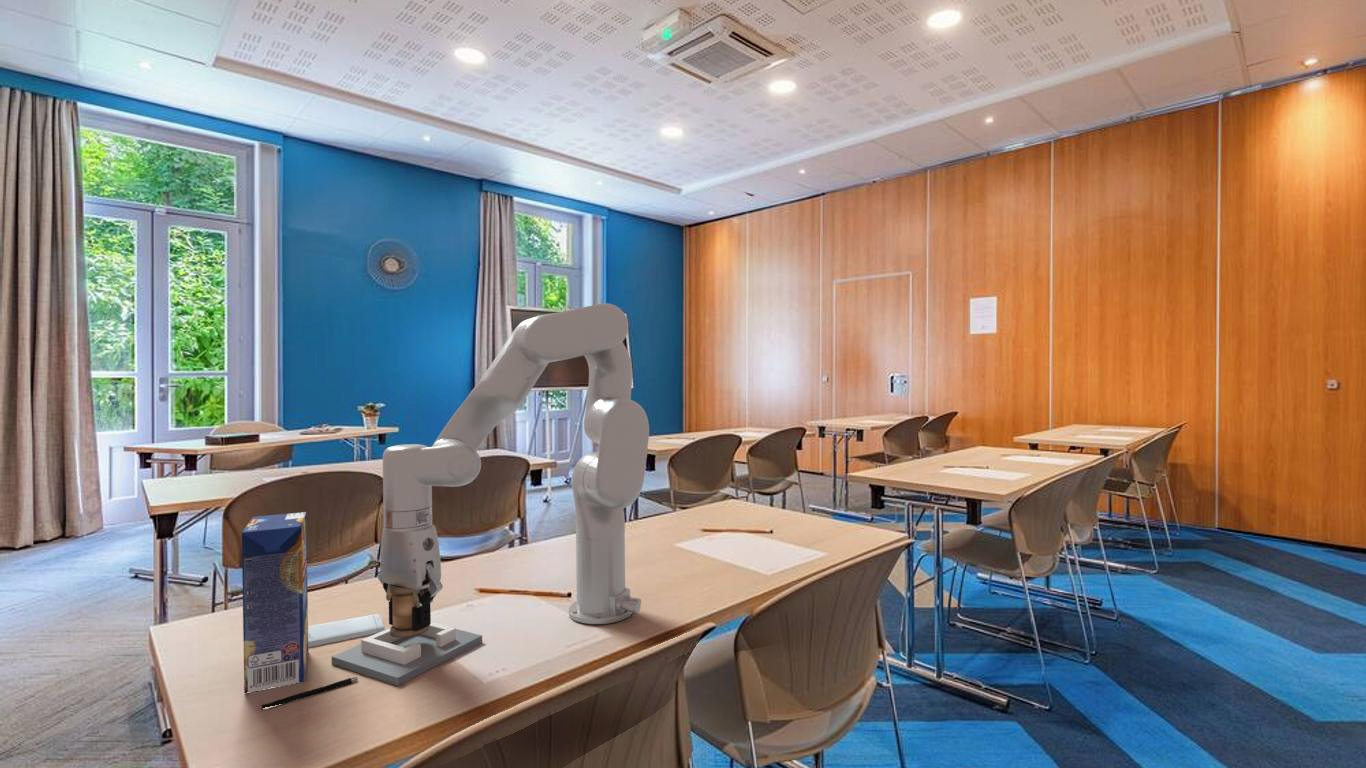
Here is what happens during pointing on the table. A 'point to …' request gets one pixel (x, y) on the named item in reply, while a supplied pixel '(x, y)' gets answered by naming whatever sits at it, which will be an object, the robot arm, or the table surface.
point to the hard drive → (344, 629)
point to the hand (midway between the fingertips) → (409, 623)
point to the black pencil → (311, 692)
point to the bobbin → (403, 612)
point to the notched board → (405, 653)
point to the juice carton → (275, 601)
